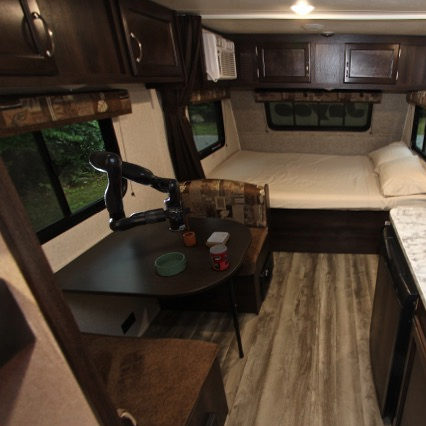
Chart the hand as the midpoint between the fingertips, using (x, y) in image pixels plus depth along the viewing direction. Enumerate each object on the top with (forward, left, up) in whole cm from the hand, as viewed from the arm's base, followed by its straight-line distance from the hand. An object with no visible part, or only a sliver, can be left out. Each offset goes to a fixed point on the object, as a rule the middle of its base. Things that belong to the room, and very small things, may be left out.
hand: (189, 209), depth 161 cm
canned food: (+31, +7, -21) cm, 38 cm away
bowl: (+20, -15, -21) cm, 33 cm away
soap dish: (+8, +11, -21) cm, 25 cm away
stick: (0, -3, -12) cm, 12 cm away
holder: (0, -3, -21) cm, 21 cm away
